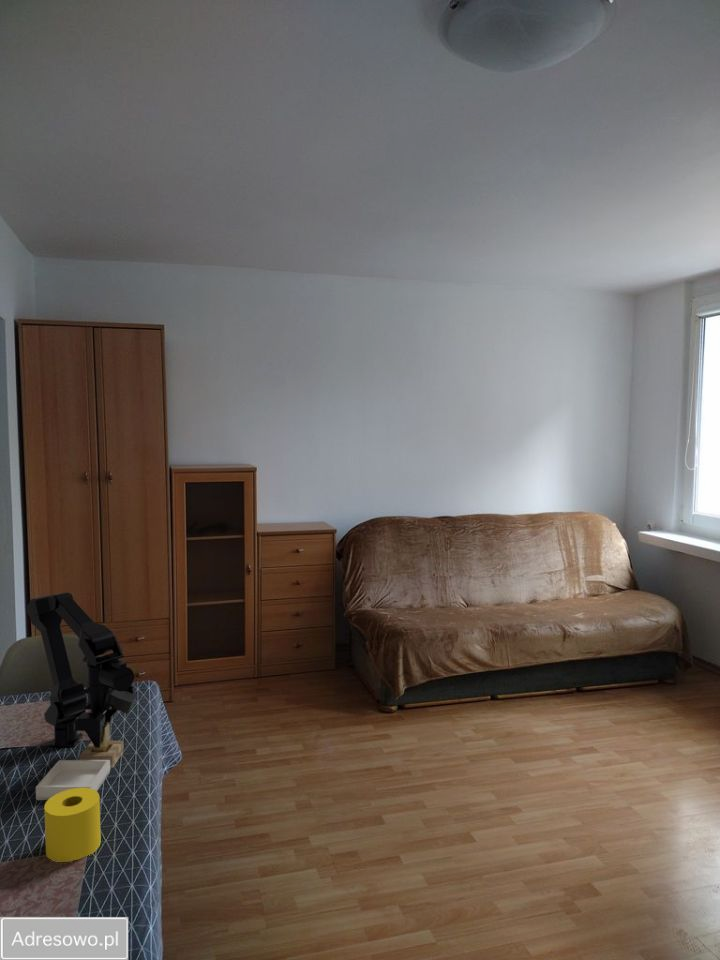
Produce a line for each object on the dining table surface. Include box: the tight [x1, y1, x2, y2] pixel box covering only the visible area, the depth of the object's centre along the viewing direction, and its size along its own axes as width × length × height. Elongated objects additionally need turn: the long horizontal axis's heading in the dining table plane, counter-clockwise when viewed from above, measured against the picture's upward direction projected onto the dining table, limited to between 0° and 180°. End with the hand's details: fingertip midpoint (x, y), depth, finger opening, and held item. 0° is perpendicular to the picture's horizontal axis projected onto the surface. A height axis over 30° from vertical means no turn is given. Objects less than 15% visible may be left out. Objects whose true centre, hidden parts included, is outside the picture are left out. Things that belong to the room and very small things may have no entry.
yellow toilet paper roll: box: [44, 788, 102, 862], centre depth 134 cm, size 10×10×9 cm
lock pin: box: [93, 722, 111, 752], centre depth 169 cm, size 3×3×9 cm
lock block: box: [78, 740, 124, 769], centre depth 169 cm, size 8×8×3 cm
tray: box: [35, 759, 111, 801], centre depth 157 cm, size 12×12×3 cm
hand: (101, 742), depth 169 cm, fingers open, 5 cm apart
